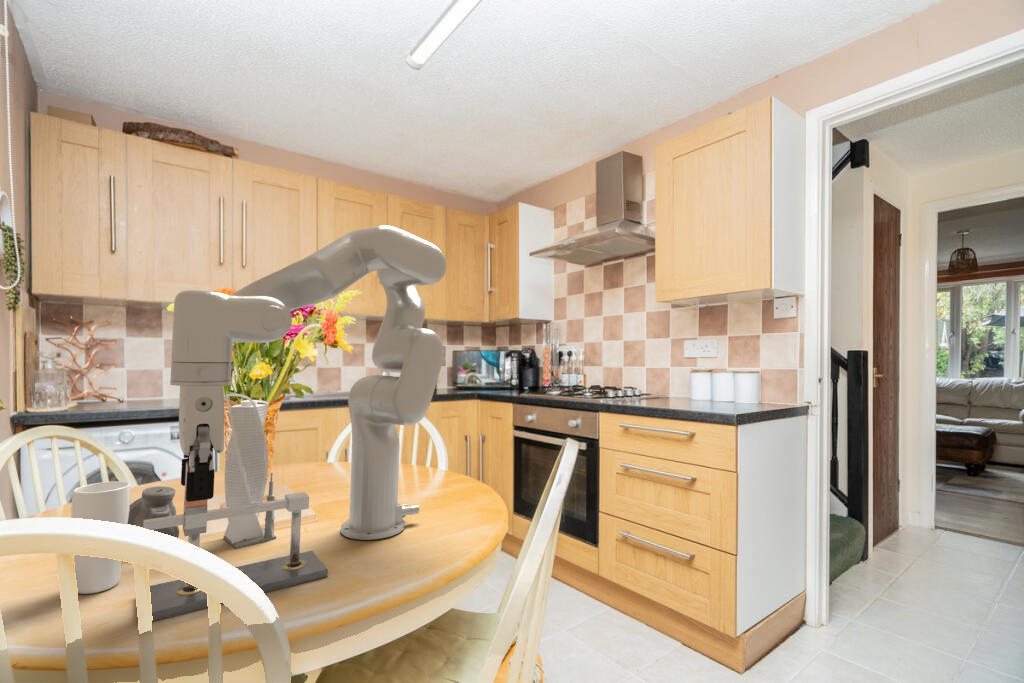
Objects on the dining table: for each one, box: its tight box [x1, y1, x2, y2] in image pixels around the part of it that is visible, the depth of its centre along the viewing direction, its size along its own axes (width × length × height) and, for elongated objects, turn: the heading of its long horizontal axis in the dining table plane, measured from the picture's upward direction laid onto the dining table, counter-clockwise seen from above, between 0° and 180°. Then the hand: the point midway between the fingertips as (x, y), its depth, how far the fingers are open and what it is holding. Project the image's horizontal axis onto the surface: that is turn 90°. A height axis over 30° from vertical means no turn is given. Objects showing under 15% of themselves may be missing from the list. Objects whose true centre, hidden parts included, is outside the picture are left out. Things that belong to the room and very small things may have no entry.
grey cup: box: [70, 480, 131, 595], centre depth 72 cm, size 7×7×15 cm
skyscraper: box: [223, 393, 277, 549], centre depth 92 cm, size 8×8×28 cm
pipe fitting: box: [128, 485, 180, 538], centre depth 88 cm, size 12×8×10 cm
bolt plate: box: [149, 550, 329, 622], centre depth 73 cm, size 24×9×1 cm, turn 128°
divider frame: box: [143, 491, 310, 565], centre depth 73 cm, size 22×3×11 cm, turn 128°
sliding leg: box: [182, 462, 209, 585], centre depth 70 cm, size 3×4×18 cm
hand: (196, 491), depth 70 cm, fingers open, 9 cm apart
